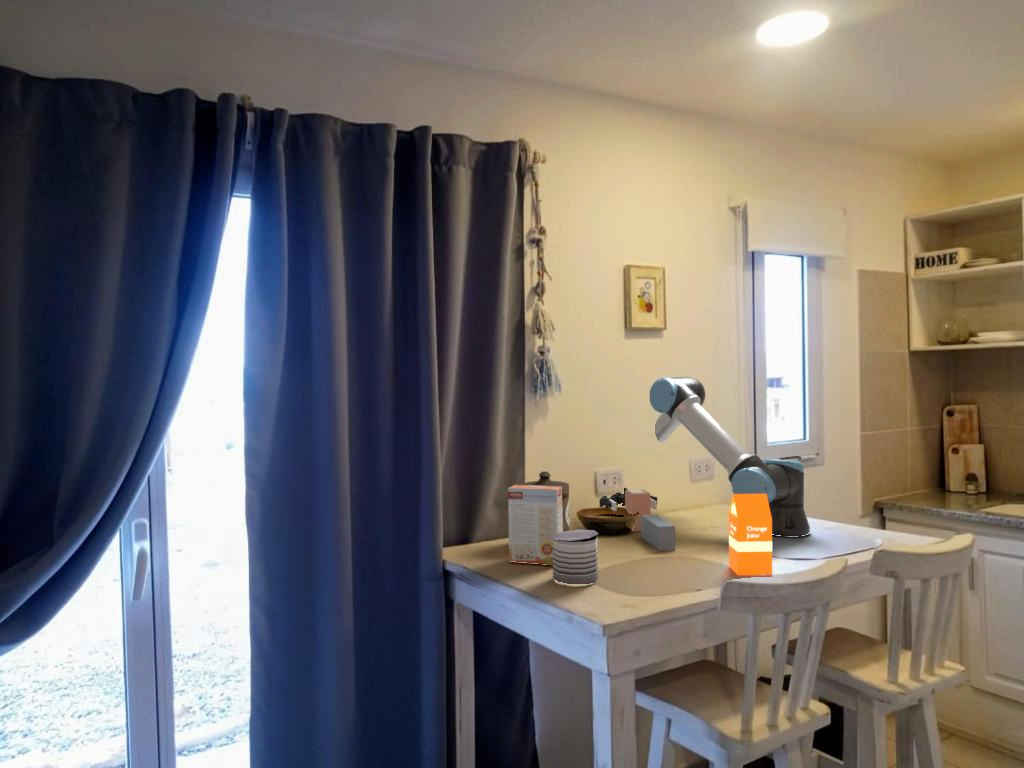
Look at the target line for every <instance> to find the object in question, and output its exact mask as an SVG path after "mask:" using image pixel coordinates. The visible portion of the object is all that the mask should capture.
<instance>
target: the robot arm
mask: <svg viewBox="0 0 1024 768" xmlns="http://www.w3.org/2000/svg"><path fill="white" fill-rule="evenodd" d="M705 400H706V390H705V387H704V385H703V383H701V382H700V380H698V379H697V378H695V377H692V376H671V377H670V376H665V377H661V378H658V379H657V380H655V381H654V382H653V384H652V385H651V387H650V389H649V403H650V405H651V407H652V408H653V410H654V411H656V412H657V413H660V415H659V416H658V417H657V418H658V419H657V418H656V419H657V421H656V424H655V435H656V437H657V440H658V441H659V442H663V443H664V442H665V441H666V440H667V439H668V438H669V437H671V435H672V434H673V433H674V432H675V431H676V430H677V429H678V428H679V426H681V425H683V427H685V428H686V430H688V432H689V433H690V434H691V435H692V436H693V437H694V438H695V439H696V440H697V441H698V442H699V443H700V445H701V446H702V447H704V449H706V450H707V452H708V453H709V454H710V455H711V456H712V457H713V458H714V460H716V461H717V462H718V464H719V465H721V467H722V468H723V469H724V470H725V471H726V472H727V473H728V474H727V480H728V481H729V482H730V484H731V485H730V486H731V488H732V489H731V490H732V495H733V494H767V499H768V504H769V508H770V513H771V517H772V534H774V535H781V536H802V535H806V534H808V533H809V532H810V533H811V527H810V524H809V520H808V518H807V515H806V512H805V511H806V510H805V506H804V505H805V504H804V501H805V496H804V495H805V471H804V470H805V469H804V464H803V463H802V462H800V461H798V460H797V461H795V460H786V459H775V458H765V459H764V460H762V458H760V457H759V455H757V454H756V453H755V454H754V453H753V454H750V453H749V452H747V450H746V449H744V447H742V446H741V445H740V443H739V442H738V441H736V439H734V437H733V436H731V434H730V433H728V431H727V430H726V429H725V428H723V426H722V425H721V424H720V423H719V422H718V421H717V420H716V419H715V418H714V417H713V416H712V415H711V414H710V413H709V412H708V411H707V409H705V408H704V407H703V404H704V402H705ZM625 490H629V489H628V488H627V487H625V488H624V494H621V493H619V492H618V493H616V494H614V495H612V496H611V497H610V498H607V496H603V497H600V498H599V502H598V503H599V508H603V507H605V508H610V510H612V511H613V512H617V509H618V507H617V505H618V504H621V503H623V504H622V506H624V507H625ZM657 505H658V497H657V496H654V495H650V507H651V509H652V510H657V508H658V506H657ZM605 508H604V509H605Z"/></svg>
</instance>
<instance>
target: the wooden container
mask: <svg viewBox="0 0 1024 768" xmlns="http://www.w3.org/2000/svg"><path fill="white" fill-rule="evenodd" d="M538 476H539V479H538V480H534V481H527V482H523V483H521V484H520V485H535V486H561V487H562V515H563V532H564V531H571V530H570V528H571V527H570V524H571V522H570V498H569V497H570V484H569V483H568V482H563V481H558V480H556V481H555V480H551V479H550V478H551V476H552V475H551V473H550V472H548V471H546V470H545V471H541V472H540V473H539V474H538Z"/></svg>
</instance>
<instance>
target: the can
mask: <svg viewBox="0 0 1024 768" xmlns="http://www.w3.org/2000/svg"><path fill="white" fill-rule="evenodd" d="M597 535H599V533H598V532H597V531H596V530H591V529H574V530H570V531H564V532H560V533H558V534H555V535H553V536H552V537H553V566H552V579H553V578H554V579H555V580H557V581H558V582H563V583H567V584H590V583H596V581H597V579H598V580H599V573H598V572H599V571H598V570H599V569H598V568H599V567H598V566H599V565H598V564H599V563H598V561H599V560H598V558H599V557H598V555H599V554H598V553H599V552H598V551H599V550H598V536H597ZM597 582H598V581H597ZM596 584H597V583H596Z"/></svg>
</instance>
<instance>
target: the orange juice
mask: <svg viewBox="0 0 1024 768" xmlns="http://www.w3.org/2000/svg"><path fill="white" fill-rule="evenodd" d="M731 498H732V499H731V503H730V506H729V511H728V561H729V562H728V563H729V565H728V567H729V568H730V569H731V570H732V571H733V573H735V574H736V575H737V576H762V575H761V574H770V573H771V574H772V575H773V536H772V517H771V513H770V508H769V504H768V499H767V494H733V493H732V497H731Z"/></svg>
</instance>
